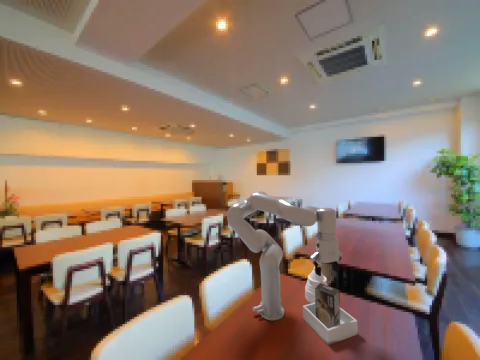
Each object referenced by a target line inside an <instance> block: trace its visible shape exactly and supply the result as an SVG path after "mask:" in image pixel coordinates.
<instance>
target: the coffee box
mask: <svg viewBox="0 0 480 360" xmlns="http://www.w3.org/2000/svg"><path fill="white" fill-rule="evenodd" d="M340 294H341V293H340V289H337V288H335V287H332V286H329V285H328V284H327V285H325V284H322V283H320V284H319V285H318V286H317V287H316V288H315V306H316V317H317V318H318V319H319V320H320V321H321V322H322V323H323V324H324V325H325V326H326V327H327V328H328V329H329V328H332V327H335V326H338V325H341V324H340V308H341V299H340V298H341V297H340Z"/></svg>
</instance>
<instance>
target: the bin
mask: <svg viewBox="0 0 480 360" xmlns="http://www.w3.org/2000/svg"><path fill="white" fill-rule="evenodd" d="M302 318H303V320H305V322H306V323H307V324H308V325H309V326H310V327H311V328H312V330H313V331H314V332H315V333H316V334H317V335H318V336H319V337H320V338H321V339H322V340H323V342H325V344H326V345H327V346H331V345H334V344H335V343H338V342H341V341H344V340H347V339H349V338H352V337H354V336H357V335H358V333H359V332H358V331H359V330H358V329H359V327H358V320H357V319H356V318H354V317H353V316H352V315H350V313H348V312H347V311H345V310H344V309H343V308H341V307H340V324H341V325H338V326H335V327H332V328H329V329H328V328H327V327H326V326H325V325H324V324H323V323H322V322H321V321H320V320H319V319H318V318H317V317H316V306H315V303H309V304H305V305H302Z"/></svg>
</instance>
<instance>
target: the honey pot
mask: <svg viewBox="0 0 480 360" xmlns="http://www.w3.org/2000/svg"><path fill="white" fill-rule="evenodd" d="M312 268H313V269H312V270H311V272H310V273H309V274H308V276H307V280H306V284H305V287H304V290H305V291H304V297H305V300H306V301H307V302H309V304H311V303H315V288H316V287H317V286H318V285H319V284H320V283H322V284H325V285H327V286H328V283H327V281H328V278H327V277H326V276H325V275H323V272H322V271H321V276H318V275H317V274H316V273H315V266H314V267H312Z"/></svg>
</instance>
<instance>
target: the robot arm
mask: <svg viewBox="0 0 480 360" xmlns="http://www.w3.org/2000/svg"><path fill="white" fill-rule="evenodd" d="M256 211H262V212H264V213H267V214H272V215H275V216H278V217H280V218H281V219H282V220H283V219H284V220H285V221H287V222H290V223H293V224H296V225H300V226H302V227H312V226H314V225H315V224H316V223H317V234H316V235H315V236H316V237H317V238H316V241H315V249H314V250H315V251H314V253H313V254H312V255H311V256H310V257H309V259H310V261H311V263H312V264H313V265H314V267H315V273H316V274H317V275H318V276H321V272H322V267H321V266H322V264H330V263H331V267H332V268H331V269H332V270H333V271H334V272H336V273H339V264H340V262H341V260H342V257H343V254H344V253H343V252H342V251H340V245H339V240H338V238H337V211H336V210H335V209H334V208H332V207H317V206H310V205H309V206H308V205H307V206H304V207H300V206H299V207H298V206H296V205H293V204H290V203H288V202H287V201H286V200H285V199H283V198H282V197H276V196H273V195H269V194H267V193H266V192H265V191H262V190H261V191H256V192H254V193H251V194H250V196H249V197H247V198H246V199H244V200H242V201H239V202H236V203H234V204H232V205H230V206H229V208H228V210H227V213H226V219H227V223H228V225H229V226H230V228H231V229H232V230H233V231H234V233H235V234H236V235H237V236H238V237H239V238H240V239H241V241H242V242H243V243H244V244H245V246H246V247H247V248H248V249H249V250H250V252H252V253H256V254H257V253H260V252H261V251H262V253H261V256H260V258H259V269H260V282H261V284H260V286H261V301H260V302H259V304H258V305H256V306H252V311H253V312H257V314H259V315H260V316H261V318H263V319H265V320H268V321H279V320H281V319H282V318H283V317H284V316H285V309H284V307H283V306H282V299H281V297H282V296H281V273H280V263H281V262H282V259H283V256H284V252H283V249H282V248H281V246H280V245H279V244H278V242H276V241H275V239H274V238H273V237H272V236H271V235H270V234H269V233H268V232H267V231H265V230H264V229H261V228H260V229H255V228H254V227H253V226H252V225H251V224H250V223H249V222H248V221H247V220H245V219H244V218H246V217H248V216H249V215H251V214H254V212H256Z"/></svg>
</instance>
